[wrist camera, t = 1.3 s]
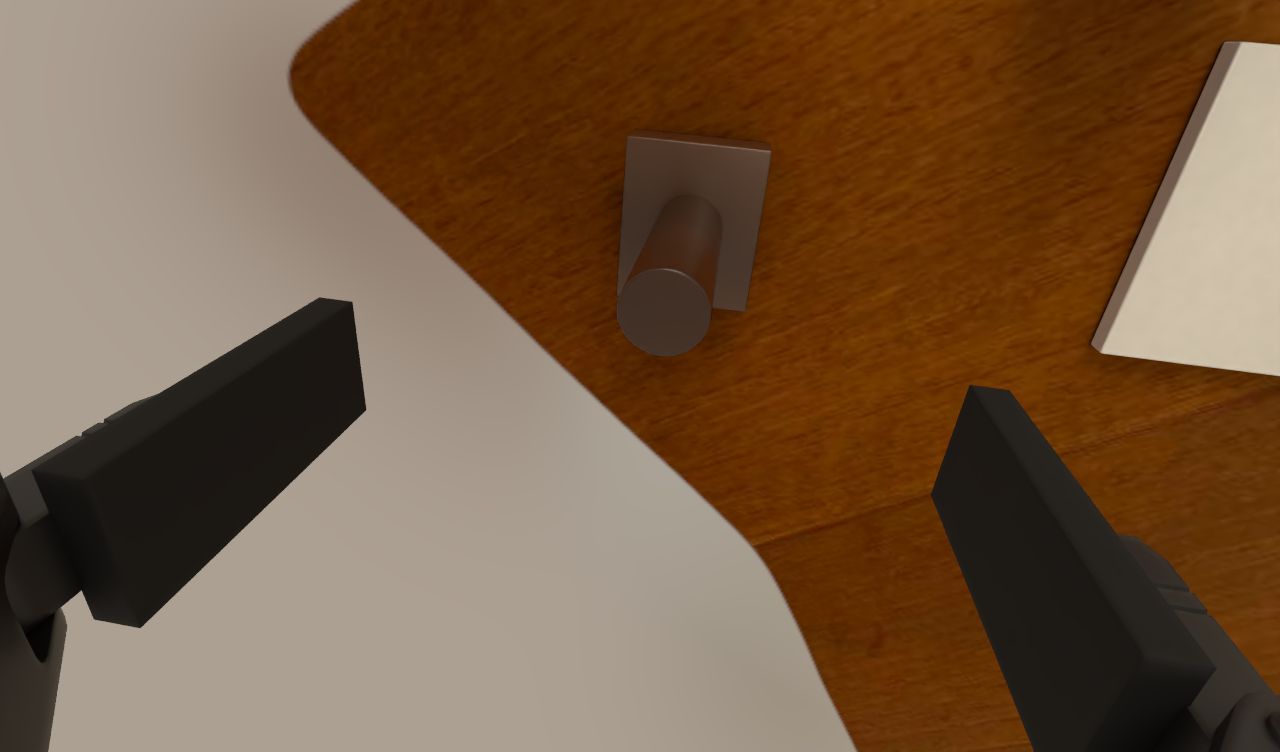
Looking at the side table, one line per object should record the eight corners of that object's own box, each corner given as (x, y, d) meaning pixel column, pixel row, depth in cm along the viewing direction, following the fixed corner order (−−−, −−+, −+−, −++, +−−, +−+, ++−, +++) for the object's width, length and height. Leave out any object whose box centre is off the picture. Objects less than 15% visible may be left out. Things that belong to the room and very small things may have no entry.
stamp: (640, 124, 28) (570, 183, 17) (769, 137, 27) (784, 208, 16) (629, 269, 31) (563, 401, 20) (745, 284, 30) (744, 427, 19)
